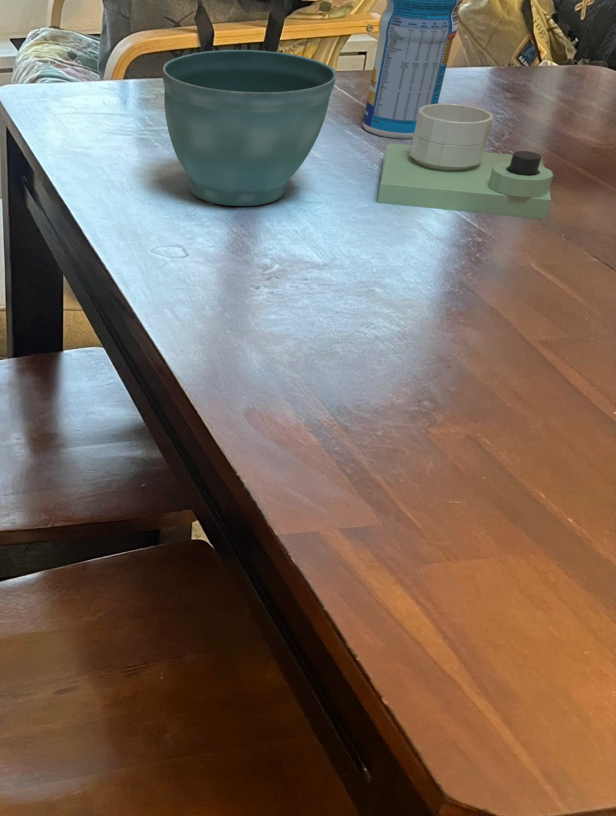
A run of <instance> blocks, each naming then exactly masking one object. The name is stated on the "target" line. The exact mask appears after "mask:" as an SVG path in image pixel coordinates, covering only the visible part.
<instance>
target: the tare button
mask: <svg viewBox="0 0 616 816" xmlns="http://www.w3.org/2000/svg"><path fill="white" fill-rule="evenodd" d="M512 155H513V156H512V160H511V163H510V167H509V170H508V172H510V173H513V174H517V175H524V176H534V175H536V174H537V170H538V167H539V164H540V160H541V157H542V155H541V154H539V153H537V152H534V151H528V150H517V151H514V152H513V153H512Z"/></svg>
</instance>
